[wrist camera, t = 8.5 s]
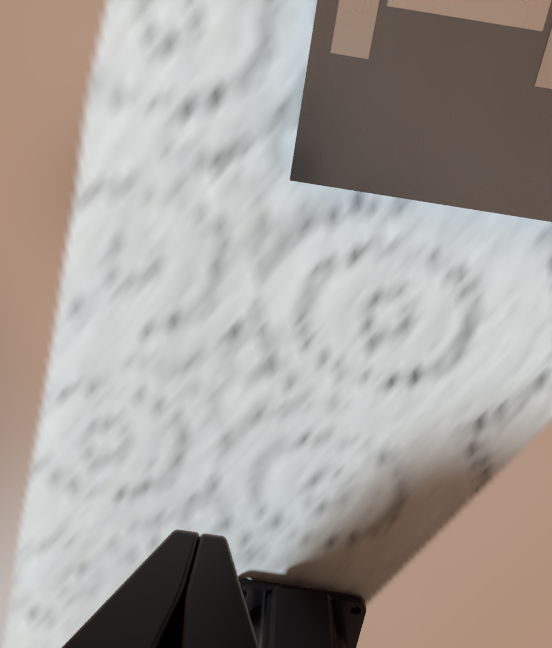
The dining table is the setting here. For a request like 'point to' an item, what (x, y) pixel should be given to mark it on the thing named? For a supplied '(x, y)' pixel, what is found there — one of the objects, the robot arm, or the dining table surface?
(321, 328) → the dining table surface
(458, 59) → the plate
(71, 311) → the dining table surface
